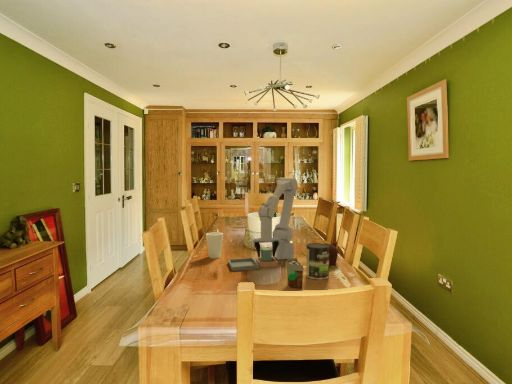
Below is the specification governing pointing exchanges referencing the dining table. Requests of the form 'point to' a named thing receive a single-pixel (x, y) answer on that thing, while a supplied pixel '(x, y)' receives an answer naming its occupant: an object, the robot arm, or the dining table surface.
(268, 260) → the teal block
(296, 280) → the food container
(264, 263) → the orange square frame
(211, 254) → the foam cup
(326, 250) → the coffee can
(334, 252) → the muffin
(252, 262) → the slate tray
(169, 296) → the dining table surface
